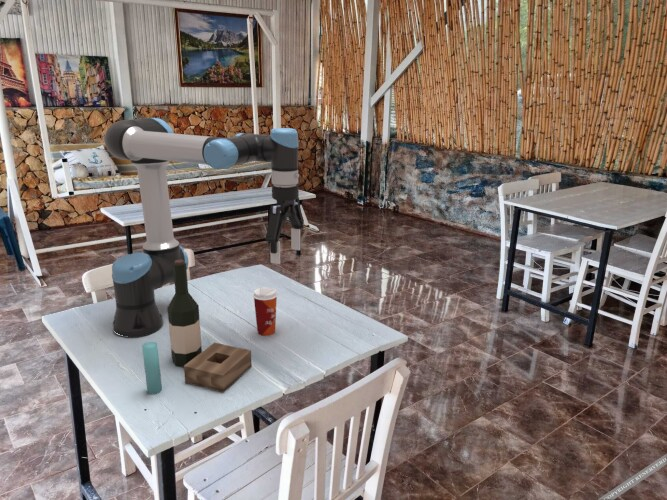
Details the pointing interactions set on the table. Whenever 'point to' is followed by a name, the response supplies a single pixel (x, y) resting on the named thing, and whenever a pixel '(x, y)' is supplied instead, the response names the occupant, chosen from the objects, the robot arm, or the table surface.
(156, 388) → the pin
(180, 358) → the wine bottle
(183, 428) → the table surface
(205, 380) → the bore block
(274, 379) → the table surface
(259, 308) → the paper cup
